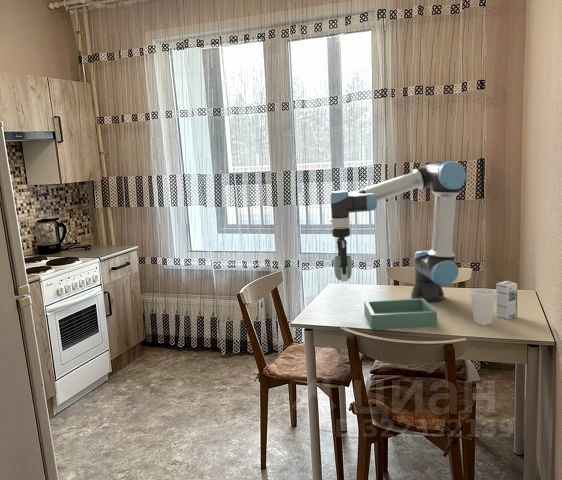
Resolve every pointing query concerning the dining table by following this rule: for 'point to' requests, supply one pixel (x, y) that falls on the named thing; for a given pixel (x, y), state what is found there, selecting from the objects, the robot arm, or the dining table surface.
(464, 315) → the dining table surface
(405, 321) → the tray
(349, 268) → the cup
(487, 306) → the foam cup
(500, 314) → the syrup box
